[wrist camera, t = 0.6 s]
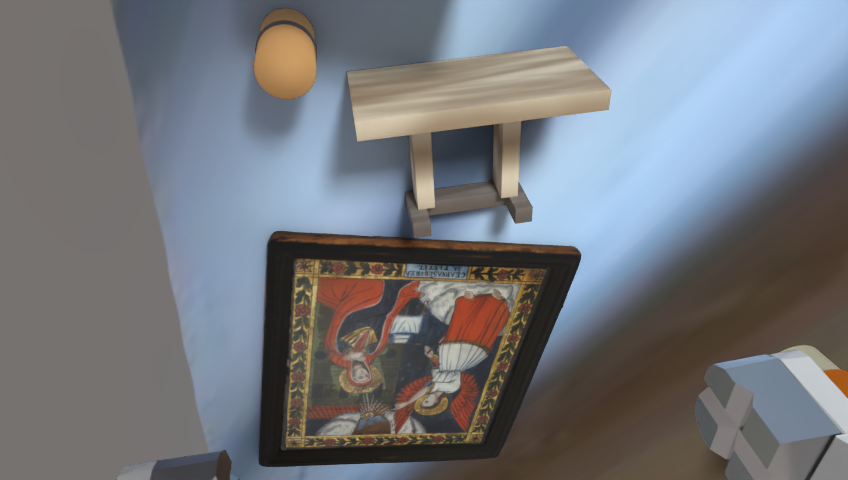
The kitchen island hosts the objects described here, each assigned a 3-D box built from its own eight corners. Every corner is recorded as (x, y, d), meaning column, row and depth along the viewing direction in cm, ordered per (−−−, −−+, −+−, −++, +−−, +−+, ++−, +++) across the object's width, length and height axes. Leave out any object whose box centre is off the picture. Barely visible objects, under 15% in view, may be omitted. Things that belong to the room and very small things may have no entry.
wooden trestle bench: (346, 71, 47) (354, 121, 40) (566, 46, 49) (611, 89, 42) (366, 211, 55) (375, 273, 48) (553, 185, 57) (589, 242, 50)
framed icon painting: (523, 442, 83) (529, 460, 81) (263, 467, 77) (261, 487, 75) (583, 214, 61) (594, 230, 58) (225, 225, 55) (221, 244, 53)
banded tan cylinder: (252, 9, 43) (245, 42, 38) (310, 3, 44) (311, 34, 38) (265, 66, 46) (260, 104, 40) (320, 59, 46) (322, 96, 41)
